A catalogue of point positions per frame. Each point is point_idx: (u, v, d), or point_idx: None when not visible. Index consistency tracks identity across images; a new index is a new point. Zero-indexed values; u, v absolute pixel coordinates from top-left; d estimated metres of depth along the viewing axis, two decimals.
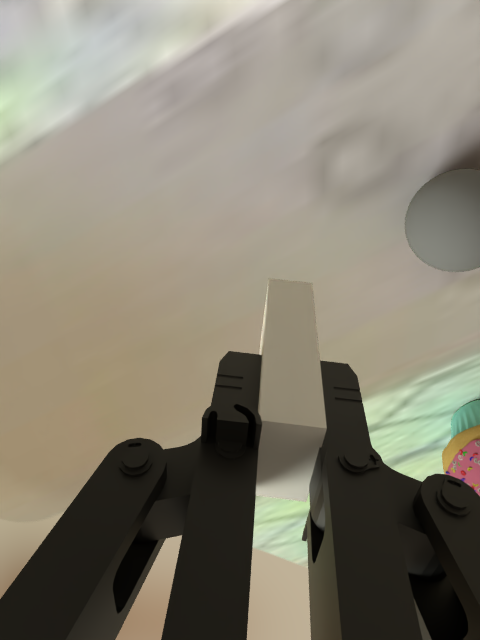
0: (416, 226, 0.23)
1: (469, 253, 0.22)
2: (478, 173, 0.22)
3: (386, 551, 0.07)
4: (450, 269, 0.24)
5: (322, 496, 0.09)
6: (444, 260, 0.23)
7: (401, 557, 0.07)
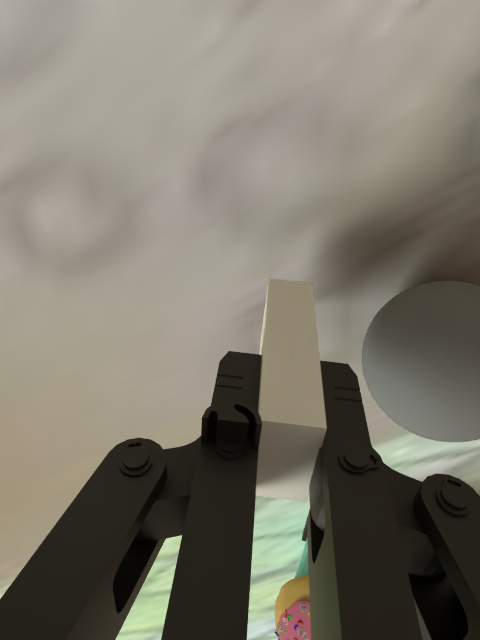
0: None
1: None
2: None
3: (386, 551, 0.07)
4: None
5: (322, 496, 0.09)
6: None
7: (401, 557, 0.07)
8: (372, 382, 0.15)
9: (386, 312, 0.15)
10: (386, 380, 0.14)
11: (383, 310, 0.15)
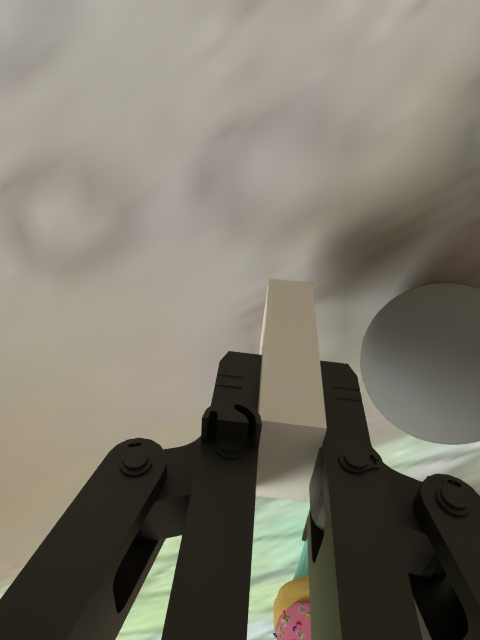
0: None
1: None
2: None
3: (386, 551, 0.07)
4: None
5: (322, 496, 0.09)
6: None
7: (401, 557, 0.07)
8: (370, 384, 0.15)
9: (385, 314, 0.15)
10: (385, 382, 0.14)
11: (381, 313, 0.15)
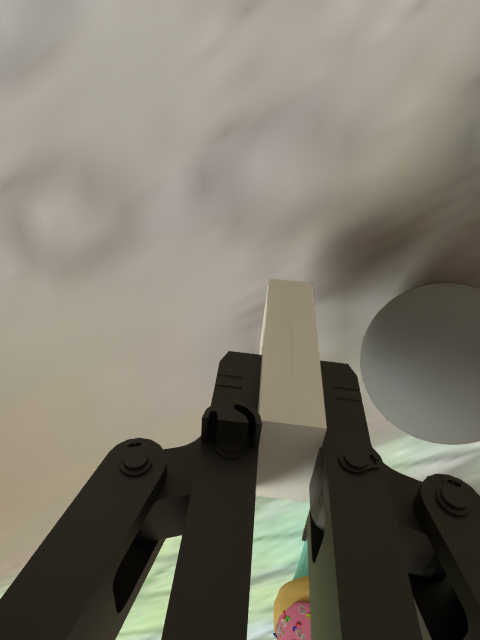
0: None
1: None
2: None
3: (386, 551, 0.07)
4: None
5: (322, 496, 0.09)
6: None
7: (401, 557, 0.07)
8: (370, 384, 0.15)
9: (385, 314, 0.15)
10: (385, 382, 0.14)
11: (381, 313, 0.15)
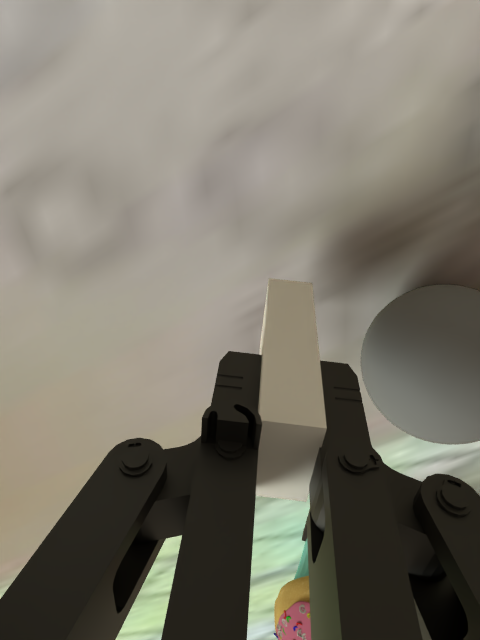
0: None
1: None
2: None
3: (386, 551, 0.07)
4: None
5: (322, 496, 0.09)
6: None
7: (401, 557, 0.07)
8: (371, 385, 0.15)
9: (385, 315, 0.15)
10: (385, 382, 0.14)
11: (381, 314, 0.15)
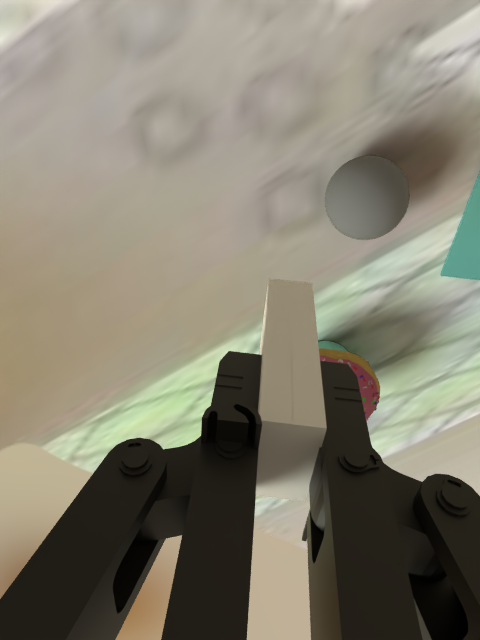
0: None
1: None
2: (382, 157, 0.28)
3: (386, 551, 0.07)
4: None
5: (322, 496, 0.09)
6: None
7: (401, 557, 0.07)
8: (328, 207, 0.29)
9: (336, 172, 0.29)
10: (334, 201, 0.28)
11: None
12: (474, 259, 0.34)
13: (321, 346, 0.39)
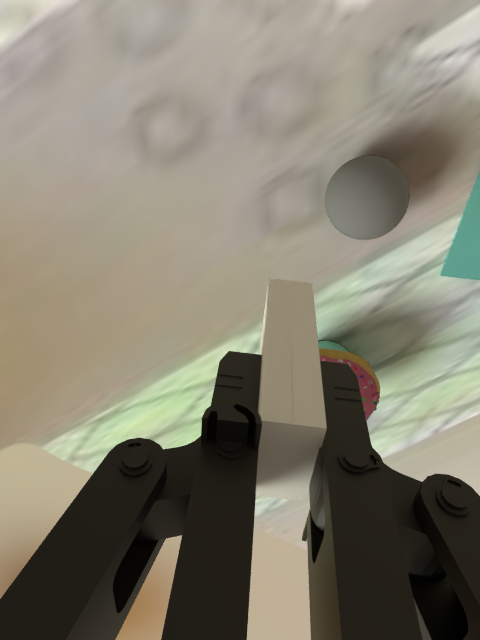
0: None
1: None
2: (382, 157, 0.28)
3: (386, 551, 0.07)
4: None
5: (322, 496, 0.09)
6: None
7: (401, 557, 0.07)
8: (328, 207, 0.29)
9: (336, 172, 0.29)
10: (334, 201, 0.28)
11: None
12: (474, 259, 0.34)
13: (321, 346, 0.39)
